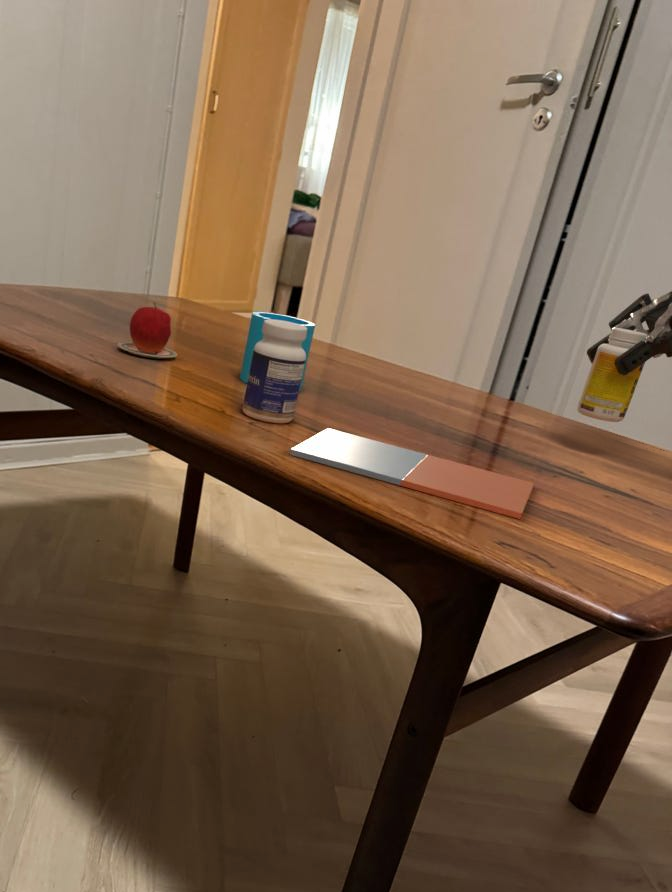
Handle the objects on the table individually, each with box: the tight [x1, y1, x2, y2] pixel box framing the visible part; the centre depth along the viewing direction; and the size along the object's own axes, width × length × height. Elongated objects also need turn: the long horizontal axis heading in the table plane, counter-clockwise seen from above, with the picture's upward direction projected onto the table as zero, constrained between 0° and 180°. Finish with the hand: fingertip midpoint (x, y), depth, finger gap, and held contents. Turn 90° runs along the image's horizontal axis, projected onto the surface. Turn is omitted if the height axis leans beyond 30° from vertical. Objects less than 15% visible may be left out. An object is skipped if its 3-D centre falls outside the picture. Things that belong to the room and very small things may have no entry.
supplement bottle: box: [576, 328, 647, 423], centre depth 108 cm, size 6×6×10 cm
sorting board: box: [289, 427, 535, 520], centre depth 89 cm, size 22×13×1 cm, turn 66°
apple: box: [117, 301, 178, 360], centre depth 121 cm, size 8×8×6 cm
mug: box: [239, 311, 316, 392], centre depth 117 cm, size 12×8×8 cm
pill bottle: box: [242, 319, 307, 424], centre depth 97 cm, size 6×6×10 cm
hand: (604, 363), depth 108 cm, fingers closed on supplement bottle, 5 cm apart
